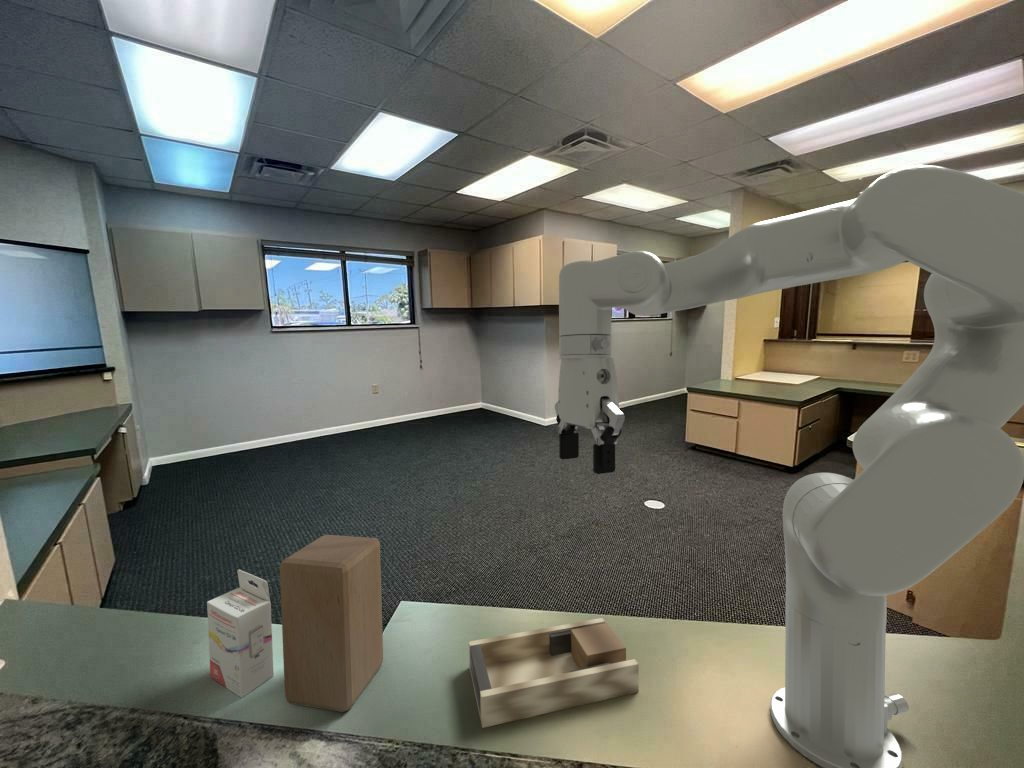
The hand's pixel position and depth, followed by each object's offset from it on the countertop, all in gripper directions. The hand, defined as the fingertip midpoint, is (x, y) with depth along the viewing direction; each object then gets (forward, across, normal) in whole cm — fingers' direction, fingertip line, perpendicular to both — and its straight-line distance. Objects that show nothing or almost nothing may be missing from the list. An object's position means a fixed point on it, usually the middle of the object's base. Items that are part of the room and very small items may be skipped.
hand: (585, 464), depth 61 cm
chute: (+31, 0, +6) cm, 31 cm away
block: (+31, +11, +35) cm, 48 cm away
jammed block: (+31, -1, -1) cm, 31 cm away
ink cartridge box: (+31, +18, +48) cm, 60 cm away
